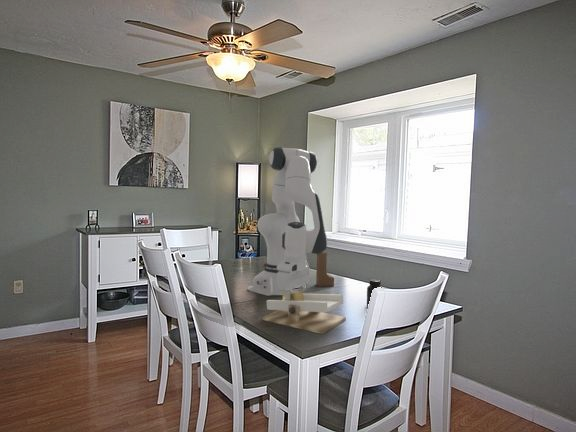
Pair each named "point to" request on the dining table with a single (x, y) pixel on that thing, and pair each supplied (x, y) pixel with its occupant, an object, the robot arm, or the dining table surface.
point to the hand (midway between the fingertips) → (294, 298)
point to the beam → (309, 303)
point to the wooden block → (323, 271)
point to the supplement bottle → (373, 284)
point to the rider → (295, 296)
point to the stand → (305, 319)
